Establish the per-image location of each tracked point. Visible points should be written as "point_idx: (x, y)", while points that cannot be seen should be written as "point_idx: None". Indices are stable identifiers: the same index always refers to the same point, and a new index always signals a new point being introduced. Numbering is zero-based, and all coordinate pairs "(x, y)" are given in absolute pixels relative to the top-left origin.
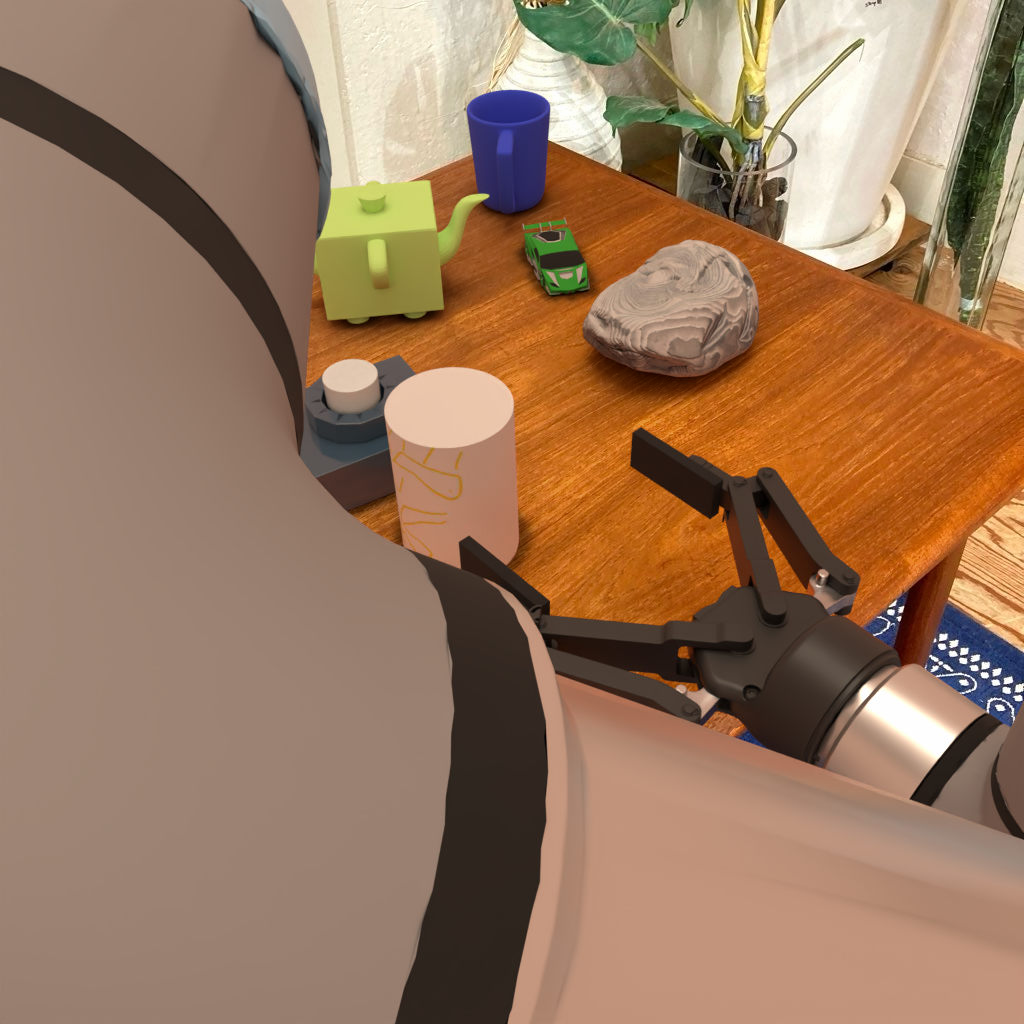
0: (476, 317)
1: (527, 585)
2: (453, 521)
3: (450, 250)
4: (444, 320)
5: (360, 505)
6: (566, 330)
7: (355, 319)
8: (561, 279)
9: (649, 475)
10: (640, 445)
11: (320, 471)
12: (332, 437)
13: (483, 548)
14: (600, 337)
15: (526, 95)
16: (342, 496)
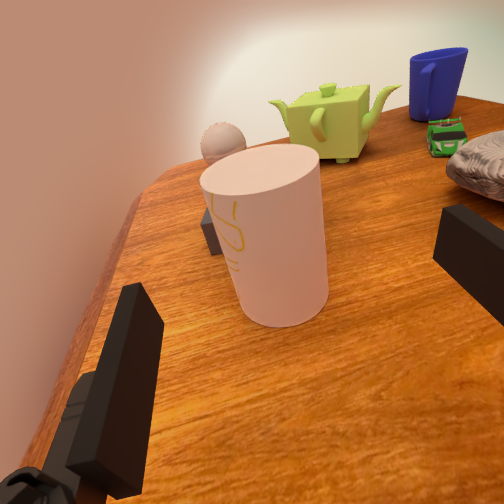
0: (377, 165)
1: (104, 397)
2: (244, 271)
3: (369, 122)
4: (357, 165)
5: None
6: (437, 175)
7: None
8: (444, 147)
9: (457, 276)
10: (451, 228)
11: (211, 220)
12: None
13: (133, 305)
14: (459, 168)
15: (453, 50)
16: None
